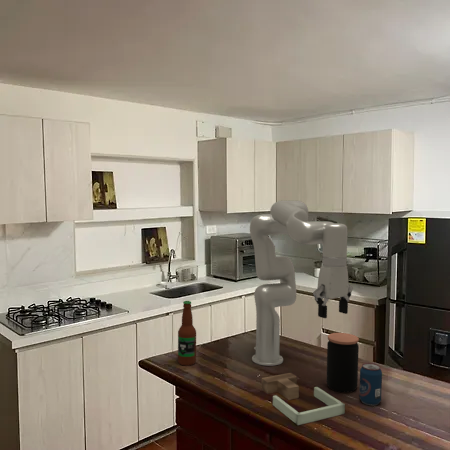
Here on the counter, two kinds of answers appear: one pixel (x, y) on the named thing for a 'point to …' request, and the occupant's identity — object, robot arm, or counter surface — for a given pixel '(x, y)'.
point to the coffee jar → (342, 362)
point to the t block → (282, 385)
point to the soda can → (370, 384)
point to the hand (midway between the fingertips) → (332, 315)
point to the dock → (316, 414)
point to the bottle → (187, 337)
